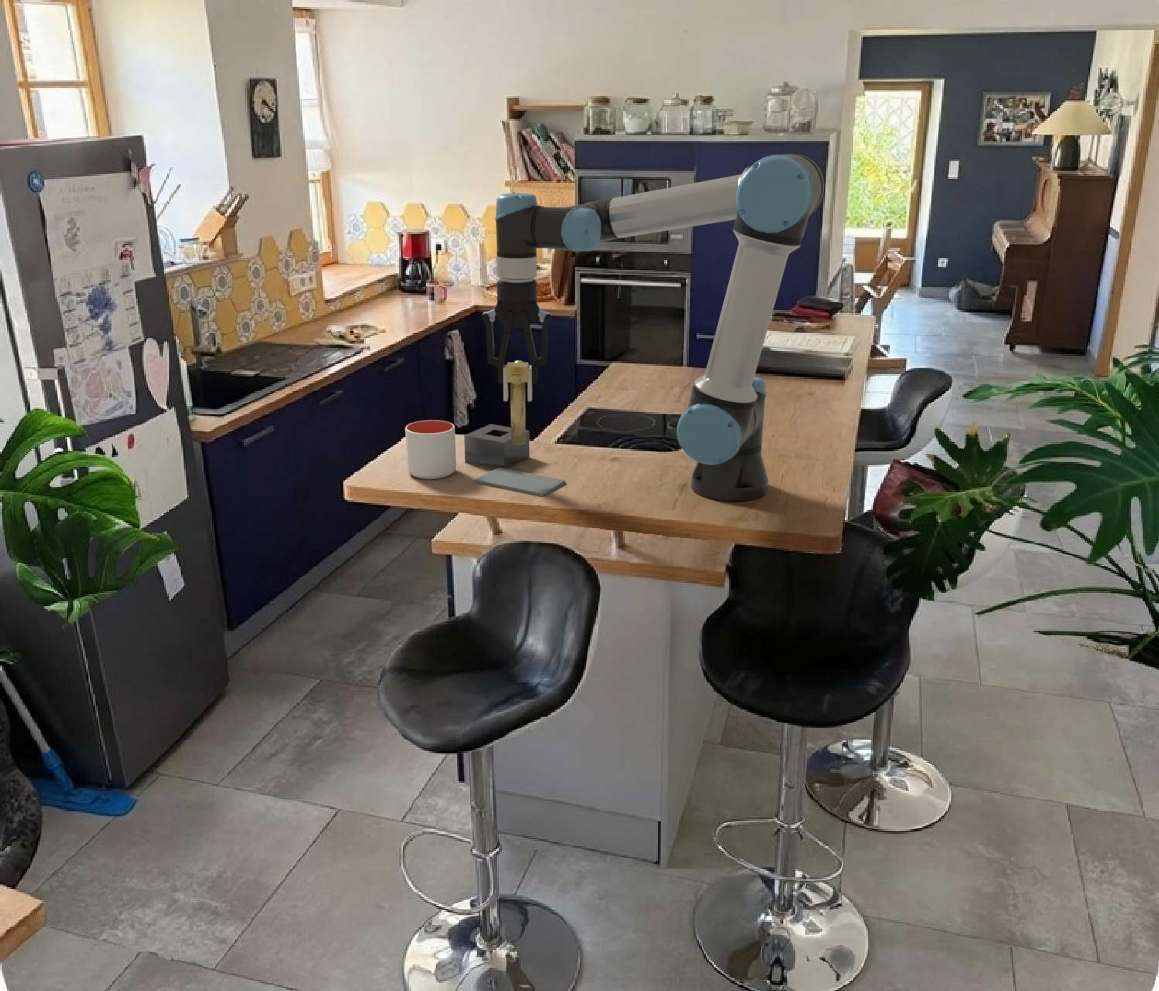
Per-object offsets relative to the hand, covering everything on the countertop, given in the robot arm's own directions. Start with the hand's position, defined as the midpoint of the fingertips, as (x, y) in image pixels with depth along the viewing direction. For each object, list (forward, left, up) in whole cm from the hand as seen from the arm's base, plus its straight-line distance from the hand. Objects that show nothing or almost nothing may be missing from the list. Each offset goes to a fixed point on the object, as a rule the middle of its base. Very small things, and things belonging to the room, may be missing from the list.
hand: (517, 399), depth 200 cm
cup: (+19, +4, -18) cm, 26 cm away
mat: (0, 0, -17) cm, 17 cm away
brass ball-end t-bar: (0, 0, -9) cm, 9 cm away
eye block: (+12, -10, -17) cm, 23 cm away
